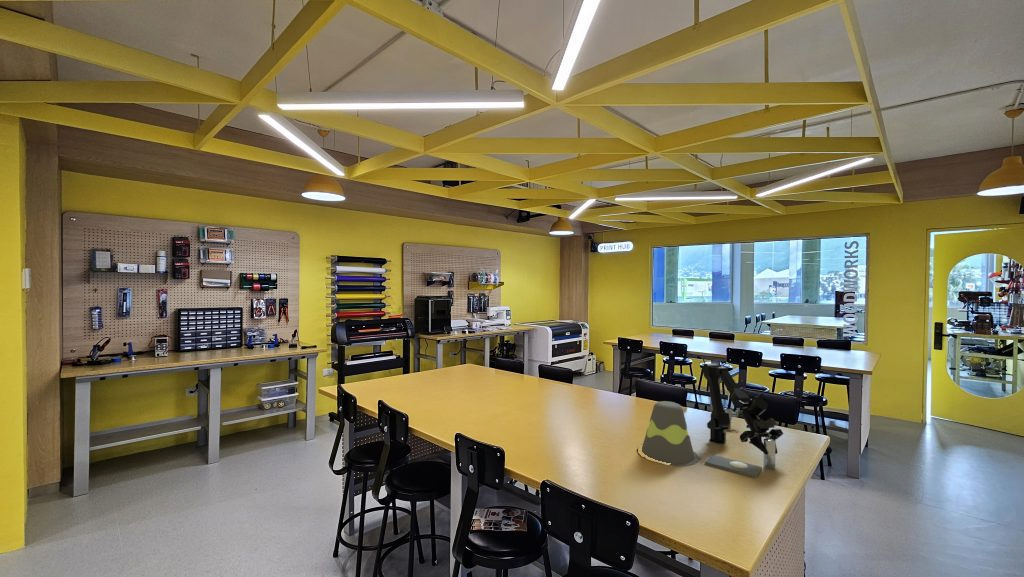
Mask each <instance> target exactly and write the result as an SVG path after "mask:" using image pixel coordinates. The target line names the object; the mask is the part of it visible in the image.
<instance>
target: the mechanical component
mask: <svg viewBox="0 0 1024 577" xmlns="http://www.w3.org/2000/svg"><path fill="white" fill-rule="evenodd" d="M723 409H724V410H725V412H726V413H727V412H728V413H729V418H730V425H729V427H728V429H729V428H731V426H732V425H731V424H732V418H738V417H739V412H740V410H739V409H735V411H733V410H732V409H730V408H723Z"/></svg>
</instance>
